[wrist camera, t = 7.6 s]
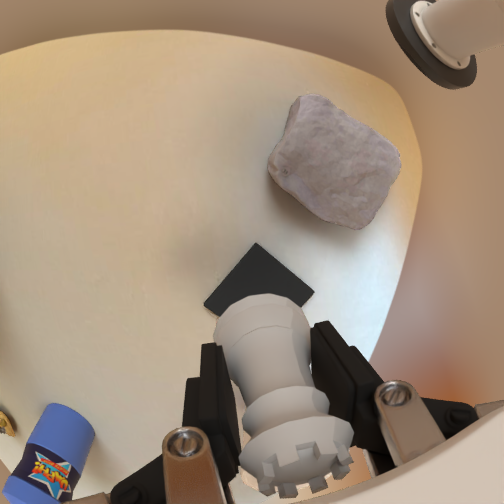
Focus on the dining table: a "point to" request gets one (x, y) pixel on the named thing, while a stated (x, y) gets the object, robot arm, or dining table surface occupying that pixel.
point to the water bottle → (51, 458)
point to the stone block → (333, 163)
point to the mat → (257, 282)
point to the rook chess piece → (281, 397)
